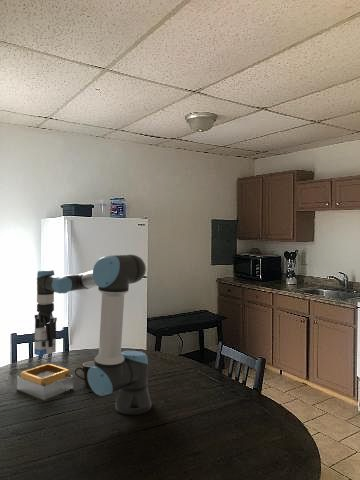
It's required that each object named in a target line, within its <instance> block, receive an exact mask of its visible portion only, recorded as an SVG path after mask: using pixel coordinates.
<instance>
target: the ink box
mask: <svg viewBox="0 0 360 480" xmlns="http://www.w3.org/2000/svg"><path fill="white" fill-rule="evenodd" d="M56 339H57V338H56ZM56 339H53V346H52V353H51V354H53V353H56V348H57V342H56ZM46 340H47V332H46V326H45V327H42V328H36V329H35V328H34V348H33V349H34V355H36V356H39V357H40V356H41V357H42V356H46V355H47V354H46Z"/></svg>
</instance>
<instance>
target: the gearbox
mask: <svg viewBox="0 0 360 480" xmlns="http://www.w3.org/2000/svg"><path fill="white" fill-rule="evenodd" d="M16 380H17V381H16V384H17V386H16V390H18V391H20V392H23V393H25V394H28V395H30V396H32V397H35V398H37V399H40V400H42V401H45V400H48V399H50V398H53V397H56V396H58V395H60V394H62V393H63V394H64V393H66V392H68V391H70V389H71V390H73V389H74V375H72V374H71V373H70V369H68V368H65V367H62V366H57V365H56V364H52V363H49V362H47V363H45V364H42V365H39V366H36V367H33V368H30V369H26V370H24V371H21V372H20V374H19V375H18V376H17V377H16ZM65 391H66V392H65Z"/></svg>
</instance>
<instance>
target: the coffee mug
mask: <svg viewBox="0 0 360 480" xmlns="http://www.w3.org/2000/svg"><path fill="white" fill-rule="evenodd" d="M94 361H95V360H90V361H85V362H84V363H82V367H77V368H76V369H75V370H74V374H75V376H77V378H80V379H81V380H82V381H84V385H85V387H87V388H91V387H90V385H89V383H88V378H87V373H88V370H89V369H90V368H91V367H92V366H94ZM77 370H81V371H82V372H83V377H82V376H80V375H78V373H77V372H78V371H77Z"/></svg>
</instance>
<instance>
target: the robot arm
mask: <svg viewBox="0 0 360 480" xmlns="http://www.w3.org/2000/svg"><path fill="white" fill-rule="evenodd" d="M92 269H93V270H89V271H86V272H81V273H75V274H65V275H58V274H57V275H55V271H54V270H53V269H39V270H37V273H36V303H37V304H36V311H37V313H38V314H34V330H35V329H36V328H42V327H46V332H47V340H46V355H50V354H53V353H52V346H53V339H57V319H58V318H57V317H54V315H53V312H54V311H55V303H54V302H55V293H56V294H57V293H58V294H67V293H69V292H75V291H80V290H82V291H83V290H89V289H92V288H96V287H98V289H97V291H99V292H100V294H101V305H100V306H101V308H100V324H99V325H100V326H99V328H100V329H99V344H98V345H99V346H98V354H97V355H96V356H95V357H94V360H93V361H94V366H92V367H91V368H90V369H89V370H88V373H87V378H88V383H89V385H90V387H89V388H91V390H92V392H94V393H95V394H96V395H98V396H102V397H103V396H106V395H111V394H113V393H115V392H117V391H118V393H117V397H116V399H115V407H114V408H115V410H116V411H117V412H118V413H120V414H122V415H127V416H128V415H130V416H131V415H132V416H133V415H134V416H135V415H141V414H145V413H146V412H149V411H150V410H151V408H152V399H151V397H150V393H149V389H148V377H149V376H148V374H149V372H148V371H149V369H148V367H149V362H148V361H149V360H148V355H147V354H146V353H145V352H143V351H137V350H124V351H122V341H123V324H124V323H123V322H124V306H125V304H124V303H125V294H127V293H128V292H129V287H130V285H131V284H134V283H138V282H140V281H141V280H142V279H143V278H144V277H145V275H146V271H147V268H146V263H145V261H144V260H143V259H142V258H141V257H140V256H138V255H136V254H126V255H125V254H119V255H118V254H114V255H112V254H110V255H106V256H101V257H100V258H98V260H96V261H95V264H94V265H93V268H92Z"/></svg>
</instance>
